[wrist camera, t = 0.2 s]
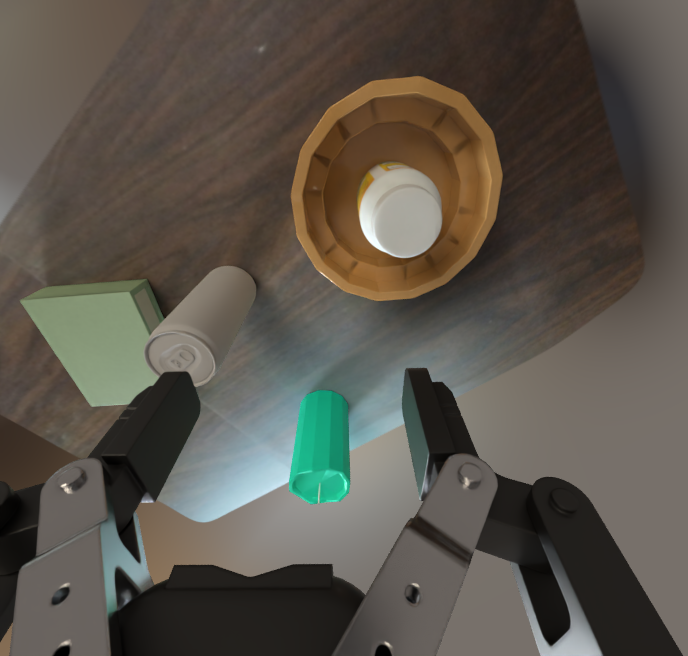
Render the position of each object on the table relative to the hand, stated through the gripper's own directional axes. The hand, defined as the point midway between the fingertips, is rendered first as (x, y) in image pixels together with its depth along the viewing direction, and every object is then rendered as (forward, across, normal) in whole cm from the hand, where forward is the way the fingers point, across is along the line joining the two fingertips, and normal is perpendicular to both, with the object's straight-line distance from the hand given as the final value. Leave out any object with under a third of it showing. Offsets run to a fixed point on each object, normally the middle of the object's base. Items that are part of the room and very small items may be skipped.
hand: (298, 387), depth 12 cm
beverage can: (+20, +9, +4) cm, 22 cm away
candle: (+19, +1, +21) cm, 29 cm away
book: (+19, +22, +10) cm, 31 cm away
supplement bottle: (+20, -5, -3) cm, 20 cm away
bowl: (+20, -5, -3) cm, 21 cm away
